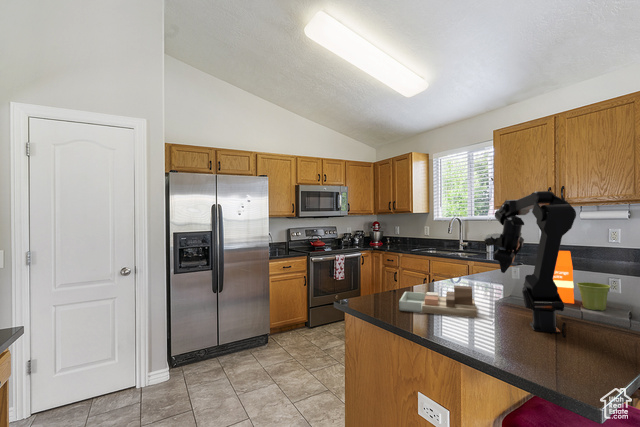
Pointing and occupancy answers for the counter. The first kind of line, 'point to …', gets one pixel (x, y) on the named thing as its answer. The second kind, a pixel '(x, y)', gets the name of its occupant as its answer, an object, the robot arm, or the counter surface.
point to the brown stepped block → (459, 296)
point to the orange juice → (564, 276)
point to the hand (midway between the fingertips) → (506, 267)
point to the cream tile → (433, 294)
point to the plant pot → (593, 295)
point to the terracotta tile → (431, 300)
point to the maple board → (450, 308)
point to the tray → (411, 301)
